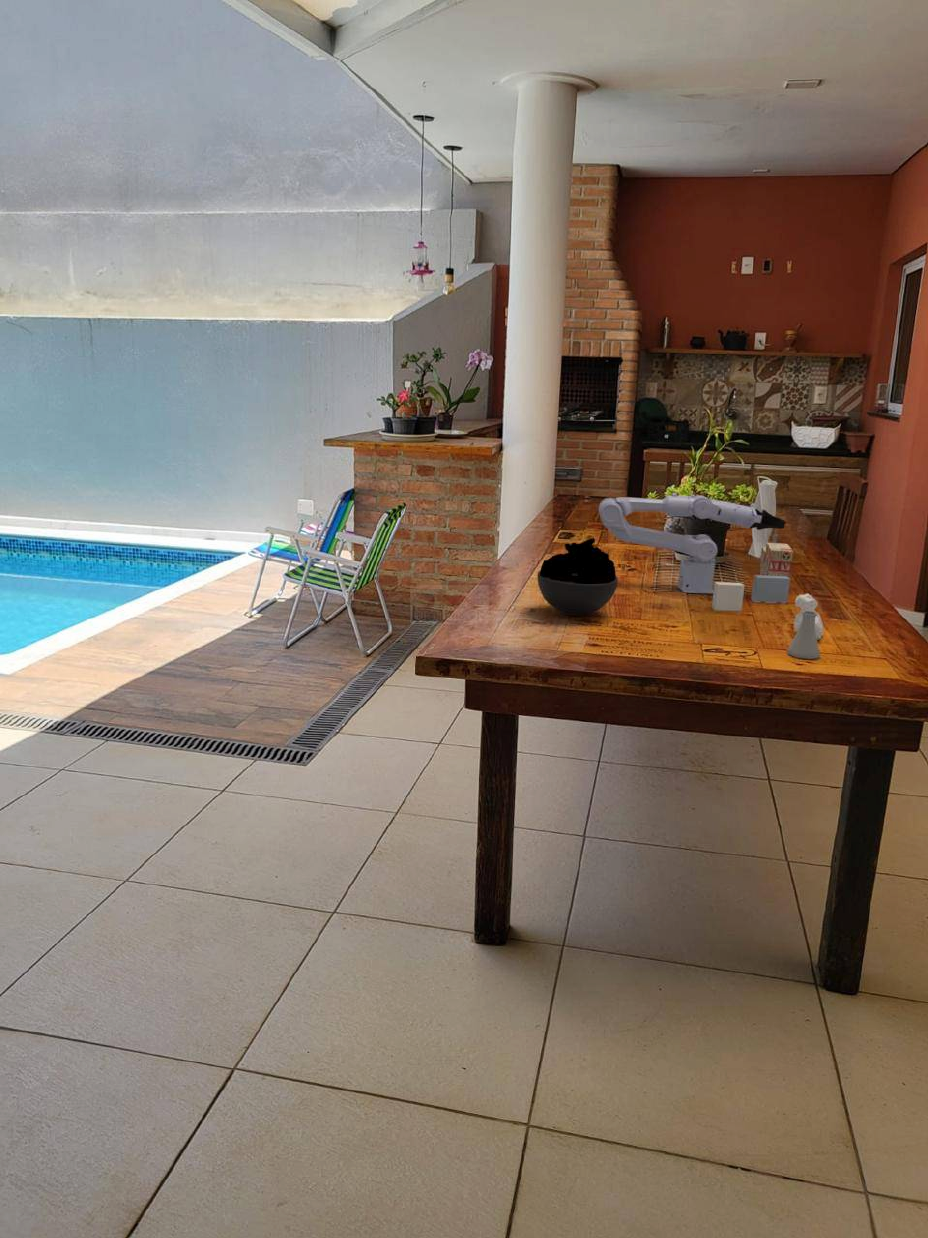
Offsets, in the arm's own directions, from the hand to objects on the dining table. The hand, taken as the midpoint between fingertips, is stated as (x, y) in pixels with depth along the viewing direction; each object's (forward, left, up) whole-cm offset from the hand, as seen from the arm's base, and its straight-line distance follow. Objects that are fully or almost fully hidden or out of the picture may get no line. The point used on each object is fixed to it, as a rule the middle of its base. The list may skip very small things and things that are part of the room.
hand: (780, 524), depth 262 cm
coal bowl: (-60, -31, -21) cm, 71 cm away
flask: (-12, -59, -21) cm, 63 cm away
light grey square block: (-18, -19, -21) cm, 33 cm away
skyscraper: (+16, +60, -21) cm, 66 cm away
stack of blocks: (+6, +16, -21) cm, 27 cm away
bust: (-5, -42, -21) cm, 47 cm away
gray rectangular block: (-3, -8, -20) cm, 22 cm away
